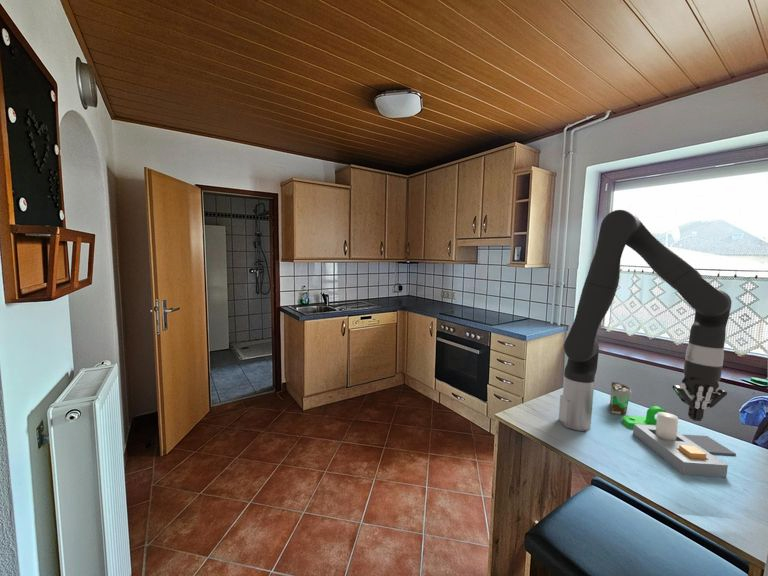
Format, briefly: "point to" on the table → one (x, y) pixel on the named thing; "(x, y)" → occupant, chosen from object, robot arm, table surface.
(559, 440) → the table surface
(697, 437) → the mat
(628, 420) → the mechanical part
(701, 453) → the orange cube
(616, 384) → the food container
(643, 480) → the table surface
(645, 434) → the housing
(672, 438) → the white upright cylinder
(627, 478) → the table surface
